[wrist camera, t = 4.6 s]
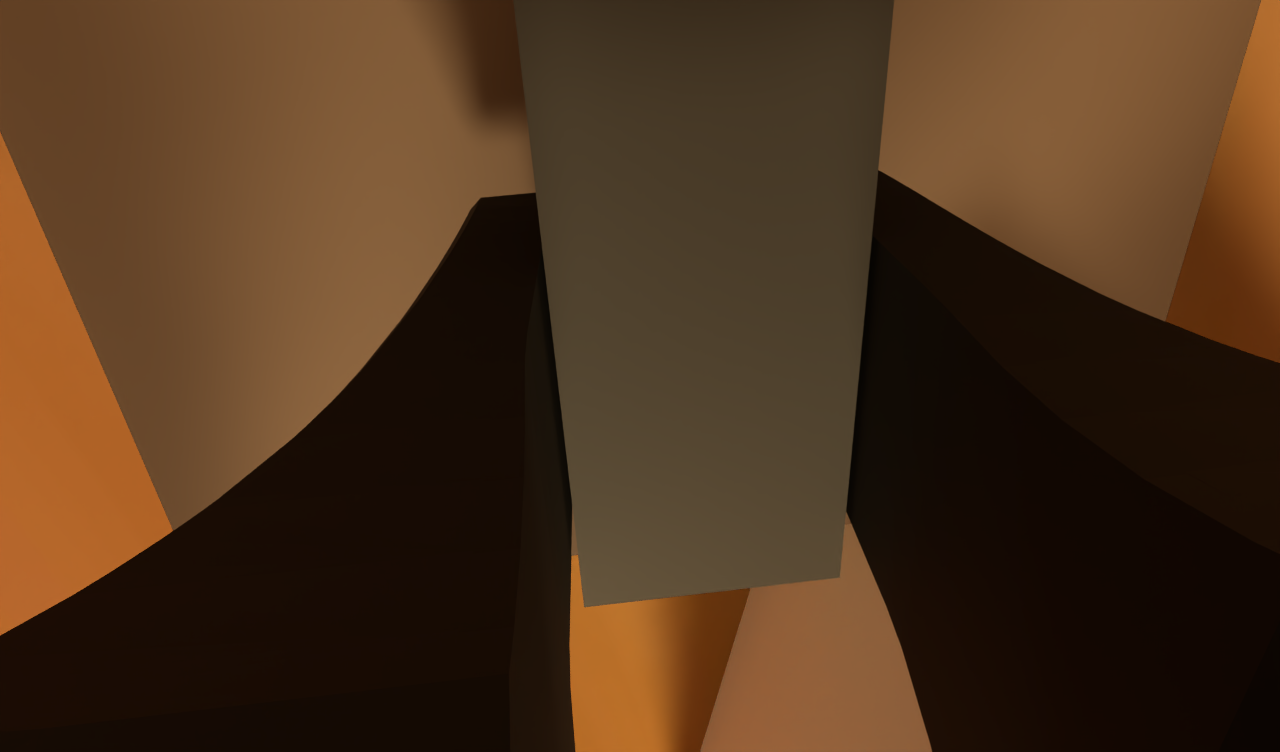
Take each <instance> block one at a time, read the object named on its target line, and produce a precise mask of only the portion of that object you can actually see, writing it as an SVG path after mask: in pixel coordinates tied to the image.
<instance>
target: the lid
mask: <svg viewBox="0 0 1280 752" xmlns="http://www.w3.org/2000/svg"><path fill="white" fill-rule="evenodd" d="M1260 2H1261V0H0V132H1V134H2V137H3V139H4V141H5V144H6V146H7V148H8V151H9V153H10V155H11V157H12V160H13V162H14V164H15V167H16V169H17V171H18V174H19V176H20V178H21V181H22V183H23V185H24V187H25V190H26V192H27V194H28V197H29V199H30V201H31V204H32V206H33V208H34V210H35V213H36V215H37V217H38V220H39V222H40V224H41V227H42V229H43V231H44V234H45V236H46V238H47V240H48V243H49V245H50V247H51V250H52V252H53V254H54V257H55V259H56V261H57V264H58V266H59V268H60V270H61V273H62V275H63V277H64V280H65V282H66V284H67V287H68V289H69V291H70V294H71V296H72V298H73V300H74V303H75V305H76V307H77V310H78V312H79V314H80V317H81V319H82V321H83V324H84V326H85V328H86V330H87V333H88V335H89V337H90V340H91V342H92V344H93V347H94V349H95V351H96V354H97V356H98V358H99V360H100V363H101V365H102V367H103V370H104V372H105V374H106V377H107V379H108V381H109V383H110V386H111V388H112V390H113V393H114V395H115V397H116V400H117V402H118V404H119V407H120V409H121V411H122V413H123V416H124V418H125V420H126V423H127V425H128V427H129V430H130V432H131V434H132V437H133V439H134V441H135V443H136V446H137V448H138V450H139V453H140V455H141V457H142V460H143V462H144V464H145V467H146V469H147V471H148V473H149V476H150V478H151V480H152V483H153V485H154V487H155V490H156V492H157V494H158V497H159V499H160V501H161V503H162V506H163V508H164V510H165V513H166V515H167V517H168V520H169V522H170V524H171V526H172V529H173V531H174V530H175V529H177V528H178V527H179V526H181V525H182V524H184V523H185V522H187V521H188V520H189V519H191V518H192V517H194V516H195V515H197V514H198V513H199V512H201V511H202V510H204V509H205V508H206V507H208V506H209V505H211V504H212V503H213V502H215V501H216V500H217V499H219V498H220V497H221V496H222V495H223V494H225V493H226V492H227V491H228V490H230V489H231V488H232V487H233V486H235V485H236V484H237V483H238V482H240V481H241V480H242V479H243V478H244V477H246V476H247V475H248V474H249V473H251V472H252V471H253V470H254V469H256V468H257V467H258V466H259V465H260V464H262V463H263V462H264V461H265V460H267V459H268V458H269V457H270V456H272V455H273V454H274V453H275V452H276V451H278V450H279V449H280V448H281V447H283V446H284V445H285V444H286V443H288V442H289V441H290V440H291V439H292V438H294V437H295V436H296V435H297V434H298V433H299V432H300V431H301V430H302V429H303V428H305V427H306V426H307V425H308V424H309V423H310V422H311V421H312V420H313V419H314V418H315V417H316V416H317V415H318V414H319V413H320V412H321V411H322V410H323V409H324V408H325V407H326V406H327V405H328V404H329V403H330V402H332V401H333V400H334V398H335V397H336V396H337V395H338V394H339V393H340V392H341V391H342V390H343V389H344V388H345V387H346V386H347V384H348V383H349V382H350V381H351V380H352V379H353V378H354V377H355V376H356V374H357V373H358V372H359V371H360V370H361V369H362V368H363V366H364V365H365V364H366V363H367V361H368V360H369V359H370V358H371V356H372V355H373V354H374V353H375V352H376V350H377V349H378V348H379V347H380V345H381V344H382V343H383V342H384V340H385V339H386V338H387V337H388V335H389V334H390V333H391V332H392V330H393V329H394V328H395V327H396V325H397V324H398V323H399V322H400V320H401V319H402V318H403V316H404V315H405V314H406V312H407V311H408V309H409V308H410V307H411V305H412V304H413V302H414V301H415V299H416V298H417V296H418V295H419V293H420V292H421V290H422V289H423V288H424V286H425V285H426V283H427V282H428V280H429V279H430V277H431V276H432V274H433V273H434V271H435V270H436V268H437V267H438V265H439V264H440V262H441V260H442V259H443V257H444V255H445V254H446V252H447V251H448V249H449V247H450V246H451V244H452V242H453V241H454V239H455V237H456V235H457V234H458V232H459V230H460V228H461V226H462V224H463V223H464V221H465V219H466V217H467V215H468V213H469V211H470V209H471V208H472V207H473V206H474V205H475V204H476V202H477V201H478V200H479V199H480V198H482V197H493V196H503V195H514V194H525V193H536V199H537V208H538V216H539V225H540V233H541V242H542V250H543V259H544V267H545V276H546V284H547V293H548V301H549V310H550V319H551V327H552V336H553V344H554V353H555V361H556V370H557V378H558V387H559V395H560V404H561V412H562V421H563V430H564V438H565V447H566V455H567V464H568V472H569V481H570V489H571V498H572V548H571V556H573V555H578V558H579V566H580V575H581V583H582V592H583V600H584V607H590V606H599V605H607V604H616V603H625V602H633V601H642V600H651V599H659V598H668V597H677V596H686V595H694V594H703V593H712V592H720V591H729V590H738V589H746V588H755V587H764V586H772V585H781V584H790V583H798V582H807V581H816V580H824V579H833V578H840V570H841V560H842V549H843V538H844V528H845V525H848V524H851V522H850V520H849V517H848V515H847V512H846V507H847V496H848V485H849V475H850V464H851V454H852V443H853V432H854V422H855V411H856V401H857V390H858V380H859V369H860V358H861V348H862V337H863V327H864V316H865V305H866V295H867V284H868V274H869V263H870V253H871V242H872V231H873V221H874V210H875V200H876V189H877V178H878V170H879V171H881V172H883V173H885V174H887V175H888V176H890V177H892V178H894V179H895V180H897V181H899V182H900V183H902V184H904V185H906V186H907V187H909V188H911V189H912V190H914V191H916V192H917V193H919V194H921V195H922V196H924V197H926V198H927V199H929V200H931V201H932V202H934V203H936V204H937V205H939V206H941V207H942V208H944V209H946V210H947V211H949V212H951V213H952V214H954V215H956V216H957V217H959V218H961V219H962V220H964V221H966V222H967V223H969V224H971V225H972V226H974V227H976V228H978V229H979V230H981V231H983V232H985V233H986V234H988V235H990V236H991V237H993V238H995V239H997V240H998V241H1000V242H1002V243H1004V244H1006V245H1007V246H1009V247H1011V248H1013V249H1014V250H1016V251H1018V252H1020V253H1022V254H1024V255H1026V256H1027V257H1029V258H1031V259H1033V260H1035V261H1037V262H1038V263H1040V264H1042V265H1044V266H1046V267H1048V268H1050V269H1052V270H1054V271H1056V272H1058V273H1060V274H1062V275H1064V276H1066V277H1068V278H1070V279H1072V280H1074V281H1076V282H1078V283H1080V284H1082V285H1084V286H1086V287H1088V288H1090V289H1092V290H1094V291H1096V292H1098V293H1100V294H1102V295H1104V296H1107V297H1109V298H1111V299H1113V300H1115V301H1118V302H1120V303H1122V304H1124V305H1127V306H1129V307H1131V308H1133V309H1136V310H1138V311H1140V312H1143V313H1145V314H1148V315H1150V316H1153V317H1155V318H1158V319H1160V320H1163V321H1166V318H1167V314H1168V311H1169V308H1170V304H1171V301H1172V298H1173V294H1174V291H1175V287H1176V284H1177V281H1178V277H1179V274H1180V271H1181V267H1182V264H1183V261H1184V257H1185V254H1186V251H1187V247H1188V244H1189V241H1190V237H1191V234H1192V230H1193V227H1194V224H1195V220H1196V217H1197V214H1198V210H1199V207H1200V204H1201V200H1202V197H1203V194H1204V190H1205V187H1206V183H1207V180H1208V177H1209V173H1210V170H1211V167H1212V163H1213V160H1214V157H1215V153H1216V150H1217V147H1218V143H1219V140H1220V137H1221V133H1222V130H1223V126H1224V123H1225V120H1226V116H1227V113H1228V110H1229V106H1230V103H1231V100H1232V96H1233V93H1234V90H1235V86H1236V83H1237V80H1238V76H1239V73H1240V69H1241V66H1242V63H1243V59H1244V56H1245V53H1246V49H1247V46H1248V43H1249V39H1250V36H1251V33H1252V29H1253V26H1254V22H1255V19H1256V16H1257V12H1258V9H1259V6H1260Z"/></svg>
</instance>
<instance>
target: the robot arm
mask: <svg viewBox="0 0 1280 752" xmlns="http://www.w3.org/2000/svg"><path fill="white" fill-rule="evenodd" d="M846 512H847V515H848V517H849V520H850V522H851V524H852V527H853V529H854V531H855V534H856V536H857V538H858V541H859V543H860V546H861V548H862V550H863V553H864V555H865V557H866V560H867V562H868V564H869V567H870V569H871V572H872V574H873V576H874V579H875V581H876V583H877V586H878V588H879V590H880V593H881V595H882V598H883V600H884V602H885V605H886V607H887V610H888V612H889V615H890V618H891V621H892V623H893V626H894V629H895V631H896V634H897V637H898V640H899V642H900V645H901V648H902V651H903V654H904V658H905V661H906V664H907V668H908V671H909V674H910V678H911V681H912V685H913V688H914V691H915V695H916V698H917V701H918V705H919V708H920V712H921V715H922V718H923V722H924V725H925V728H926V732H927V735H928V739H929V742H930V745H931V749H932V752H1280V363H1277V362H1274V361H1271V360H1268V359H1265V358H1261V357H1258V356H1255V355H1253V354H1250V353H1247V352H1244V351H1241V350H1238V349H1235V348H1233V347H1230V346H1227V345H1224V344H1221V343H1218V342H1216V341H1213V340H1210V339H1208V338H1205V337H1203V336H1200V335H1198V334H1195V333H1193V332H1190V331H1188V330H1185V329H1183V328H1180V327H1178V326H1175V325H1173V324H1170V323H1168V322H1165V321H1163V320H1160V319H1158V318H1155V317H1153V316H1150V315H1148V314H1145V313H1143V312H1140V311H1138V310H1136V309H1133V308H1131V307H1129V306H1127V305H1124V304H1122V303H1120V302H1118V301H1115V300H1113V299H1111V298H1109V297H1107V296H1104V295H1102V294H1100V293H1098V292H1096V291H1094V290H1092V289H1090V288H1088V287H1086V286H1084V285H1082V284H1080V283H1078V282H1076V281H1074V280H1072V279H1070V278H1068V277H1066V276H1064V275H1062V274H1060V273H1058V272H1056V271H1054V270H1052V269H1050V268H1048V267H1046V266H1044V265H1042V264H1040V263H1038V262H1037V261H1035V260H1033V259H1031V258H1029V257H1027V256H1026V255H1024V254H1022V253H1020V252H1018V251H1016V250H1014V249H1013V248H1011V247H1009V246H1007V245H1006V244H1004V243H1002V242H1000V241H998V240H997V239H995V238H993V237H991V236H990V235H988V234H986V233H985V232H983V231H981V230H979V229H978V228H976V227H974V226H972V225H971V224H969V223H967V222H966V221H964V220H962V219H961V218H959V217H957V216H956V215H954V214H952V213H951V212H949V211H947V210H946V209H944V208H942V207H941V206H939V205H937V204H936V203H934V202H932V201H931V200H929V199H927V198H926V197H924V196H922V195H921V194H919V193H917V192H916V191H914V190H912V189H911V188H909V187H907V186H906V185H904V184H902V183H900V182H899V181H897V180H895V179H894V178H892V177H890V176H888V175H887V174H885V173H883V172H881V171H879V170H878V178H877V189H876V200H875V210H874V221H873V231H872V242H871V253H870V263H869V274H868V284H867V295H866V305H865V316H864V327H863V337H862V348H861V358H860V369H859V380H858V390H857V401H856V411H855V422H854V432H853V443H852V454H851V464H850V475H849V485H848V496H847V507H846ZM571 548H572V498H571V489H570V481H569V472H568V464H567V455H566V447H565V438H564V430H563V421H562V412H561V404H560V395H559V387H558V378H557V370H556V361H555V353H554V344H553V336H552V327H551V319H550V310H549V301H548V293H547V284H546V276H545V267H544V259H543V250H542V242H541V233H540V225H539V216H538V208H537V199H536V193H525V194H514V195H503V196H493V197H482V198H480V199H479V200H478V201H477V202H476V204H475V205H474V206H473V207H472V208H471V209H470V211H469V213H468V215H467V217H466V219H465V221H464V223H463V224H462V226H461V228H460V230H459V232H458V234H457V235H456V237H455V239H454V241H453V242H452V244H451V246H450V247H449V249H448V251H447V252H446V254H445V255H444V257H443V259H442V260H441V262H440V264H439V265H438V267H437V268H436V270H435V271H434V273H433V274H432V276H431V277H430V279H429V280H428V282H427V283H426V285H425V286H424V288H423V289H422V290H421V292H420V293H419V295H418V296H417V298H416V299H415V301H414V302H413V304H412V305H411V307H410V308H409V309H408V311H407V312H406V314H405V315H404V316H403V318H402V319H401V320H400V322H399V323H398V324H397V325H396V327H395V328H394V329H393V330H392V332H391V333H390V334H389V335H388V337H387V338H386V339H385V340H384V342H383V343H382V344H381V345H380V347H379V348H378V349H377V350H376V352H375V353H374V354H373V355H372V356H371V358H370V359H369V360H368V361H367V363H366V364H365V365H364V366H363V368H362V369H361V370H360V371H359V372H358V373H357V374H356V376H355V377H354V378H353V379H352V380H351V381H350V382H349V383H348V384H347V386H346V387H345V388H344V389H343V390H342V391H341V392H340V393H339V394H338V395H337V396H336V397H335V398H334V400H333V401H332V402H330V403H329V404H328V405H327V406H326V407H325V408H324V409H323V410H322V411H321V412H320V413H319V414H318V415H317V416H316V417H315V418H314V419H313V420H312V421H311V422H310V423H309V424H308V425H307V426H306V427H305V428H303V429H302V430H301V431H300V432H299V433H298V434H297V435H296V436H295V437H294V438H292V439H291V440H290V441H289V442H288V443H286V444H285V445H284V446H283V447H281V448H280V449H279V450H278V451H276V452H275V453H274V454H273V455H272V456H270V457H269V458H268V459H267V460H265V461H264V462H263V463H262V464H260V465H259V466H258V467H257V468H256V469H254V470H253V471H252V472H251V473H249V474H248V475H247V476H246V477H244V478H243V479H242V480H241V481H240V482H238V483H237V484H236V485H235V486H233V487H232V488H231V489H230V490H228V491H227V492H226V493H225V494H223V495H222V496H221V497H220V498H219V499H217V500H216V501H215V502H213V503H212V504H211V505H209V506H208V507H206V508H205V509H204V510H202V511H201V512H199V513H198V514H197V515H195V516H194V517H192V518H191V519H189V520H188V521H187V522H185V523H184V524H182V525H181V526H179V527H178V528H177V529H175V530H174V531H172V532H171V533H170V534H168V535H167V536H165V537H164V538H162V539H161V540H159V541H158V542H156V543H155V544H153V545H152V546H150V547H149V548H147V549H146V550H144V551H142V552H141V553H139V554H138V555H136V556H135V557H133V558H132V559H130V560H129V561H127V562H126V563H124V564H122V565H121V566H119V567H118V568H116V569H115V570H113V571H112V572H110V573H109V574H107V575H105V576H104V577H102V578H100V579H99V580H97V581H95V582H94V583H92V584H90V585H89V586H87V587H86V588H84V589H82V590H81V591H79V592H77V593H76V594H74V595H72V596H71V597H69V598H67V599H65V600H63V601H62V602H60V603H58V604H56V605H54V606H53V607H51V608H49V609H47V610H46V611H44V612H42V613H40V614H38V615H37V616H35V617H33V618H31V619H29V620H28V621H26V622H24V623H22V624H20V625H19V626H17V627H15V628H13V629H11V630H10V631H8V632H6V633H4V634H2V635H1V636H0V752H575V741H574V728H573V715H572V703H571V690H570V650H569V637H570V593H571Z"/></svg>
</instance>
